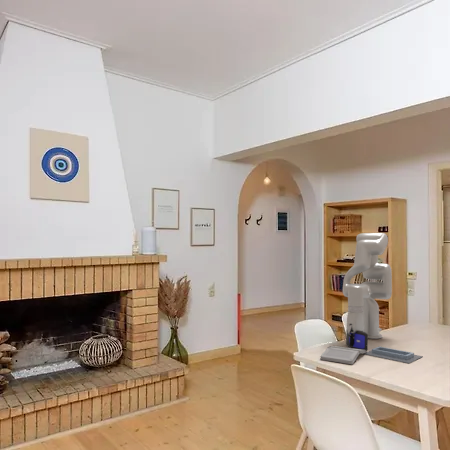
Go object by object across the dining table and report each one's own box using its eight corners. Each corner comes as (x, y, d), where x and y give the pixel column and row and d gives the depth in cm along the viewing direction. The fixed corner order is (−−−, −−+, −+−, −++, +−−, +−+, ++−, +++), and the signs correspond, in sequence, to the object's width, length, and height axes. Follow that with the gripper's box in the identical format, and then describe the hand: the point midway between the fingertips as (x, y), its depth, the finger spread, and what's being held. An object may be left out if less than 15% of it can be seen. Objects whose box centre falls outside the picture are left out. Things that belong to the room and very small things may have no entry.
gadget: (336, 349, 210) (336, 341, 210) (366, 353, 201) (366, 345, 201) (319, 359, 191) (319, 351, 191) (352, 365, 182) (352, 356, 182)
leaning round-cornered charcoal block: (341, 344, 219) (341, 326, 219) (348, 344, 220) (349, 326, 221) (360, 352, 203) (361, 332, 204) (368, 352, 205) (368, 332, 205)
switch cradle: (378, 348, 212) (378, 344, 212) (422, 357, 196) (422, 352, 196) (363, 354, 201) (363, 349, 201) (408, 363, 185) (408, 358, 185)
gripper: (357, 307, 221) (357, 341, 220) (340, 310, 209) (340, 346, 208) (370, 308, 216) (370, 343, 215) (353, 312, 204) (354, 349, 203)
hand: (356, 344), depth 212 cm, fingers open, 5 cm apart
